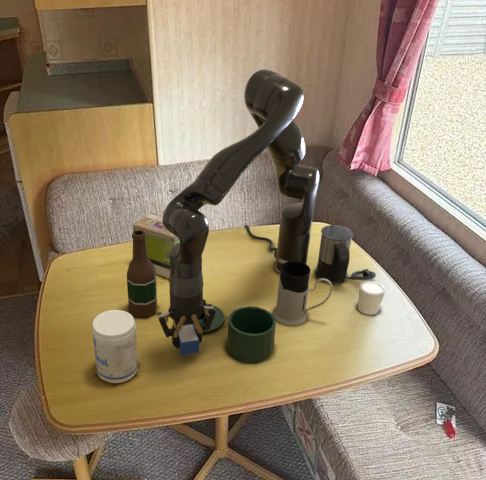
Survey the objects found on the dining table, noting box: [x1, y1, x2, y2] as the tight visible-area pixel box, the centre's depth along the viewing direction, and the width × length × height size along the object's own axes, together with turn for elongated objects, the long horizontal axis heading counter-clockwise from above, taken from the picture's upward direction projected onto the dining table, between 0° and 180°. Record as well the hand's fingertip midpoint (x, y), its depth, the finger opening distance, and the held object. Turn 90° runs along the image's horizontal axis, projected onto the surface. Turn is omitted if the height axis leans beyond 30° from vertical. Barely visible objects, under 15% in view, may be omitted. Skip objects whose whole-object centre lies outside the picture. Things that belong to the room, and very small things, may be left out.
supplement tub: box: [91, 309, 139, 384], centre depth 126 cm, size 10×10×15 cm
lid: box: [183, 298, 226, 334], centre depth 146 cm, size 12×12×6 cm
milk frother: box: [314, 224, 377, 284], centre depth 162 cm, size 14×16×15 cm
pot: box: [226, 305, 277, 364], centre depth 136 cm, size 11×11×8 cm
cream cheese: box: [178, 324, 200, 357], centre depth 133 cm, size 6×4×4 cm
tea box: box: [132, 212, 180, 279], centre depth 165 cm, size 15×10×15 cm
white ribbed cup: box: [357, 280, 386, 316], centre depth 151 cm, size 7×7×7 cm
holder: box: [273, 261, 333, 326], centre depth 145 cm, size 9×14×15 cm, turn 69°
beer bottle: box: [126, 230, 158, 319], centre depth 144 cm, size 8×8×24 cm
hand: (186, 344), depth 134 cm, fingers closed on cream cheese, 4 cm apart
